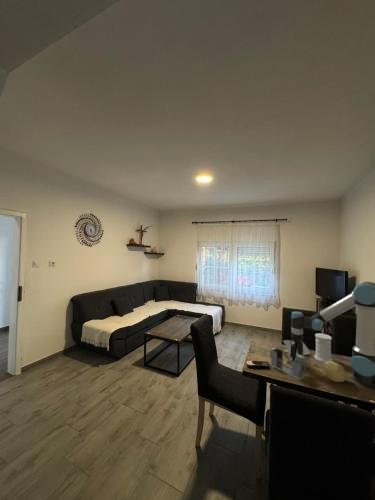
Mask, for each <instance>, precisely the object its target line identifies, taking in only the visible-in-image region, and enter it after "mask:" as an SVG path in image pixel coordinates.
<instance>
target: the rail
mask: <svg viewBox="0 0 375 500" xmlns="http://www.w3.org/2000/svg"><path fill="white" fill-rule="evenodd" d="M290 353H291V351H289V350H288V349H285V350H283V358H285V359H287V360H289V359H290V360H292V357H290ZM299 357H301V358H303V359H305V360H307V368H308V367H310V366H311V358H309V357H306V356H305V355H303V356H302V355H300V354H297V353H296V361H298V362H299Z"/></svg>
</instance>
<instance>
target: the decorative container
mask: <svg viewBox="0 0 375 500" xmlns="http://www.w3.org/2000/svg"><path fill="white" fill-rule="evenodd" d="M314 337H315V354H314V358H315V360H316V361H318V362H320V363H325V362H326V361H333V358H332V355H331V353H332V350H331V349H332V339H333V338H332V336H330V335H328V334H325V333H321V332H320V333H319V332H318V333H315V334H314Z"/></svg>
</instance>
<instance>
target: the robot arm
mask: <svg viewBox="0 0 375 500" xmlns="http://www.w3.org/2000/svg"><path fill="white" fill-rule="evenodd" d="M354 307H356V327H355V328H356V331H355V333H356V335H355V345H354V346H353V347H352V350H351V351H352V353H351V354H352V355H351V359H350V366H351V367H352V369H353V372H352V379H353V380H354V381H355V382H356V383H358V384H360V385H363V386H364V387H367V388H370V389H375V282H371V281H364V282H360V283H359V284H357V285H356V286H355V287H354V288H353V290H351V293H349V294H347V295H345V296H344V297H343V298H341V299H339V300H338V301H336V302H334V303H332V304H330V305H329V306H327V307H326V308H324V309H321V310H320V311H318V312H317V313H315V314H313V315H312V316H311V317H310V316H306V315H305V316H304V314H303V312H301V311H291V317H290V318H291V321H290V322H291V323H290V324H291V325H290V326H291V327H290V329H291V333H290V334H291V335H290V337H291V340H293V343H291V353H290V357H292V364H291V365H292V366H291V367H293V360H295V361H296V353H297V351H298V354H300V355H303V354H302V353H303V343H304V337H303V336H304V328H305V329H306V328H307V329H310V330H313V331H320V332H321V331H322V329H323V326H324V324H325V323H327V322H329V321H331V320H332V319H334V318H336V317H337V316H340V315H341V314H343V313H345V312H347V311H349V310H351V309H353V308H354ZM295 346H296V347H295ZM303 356H304V355H303Z"/></svg>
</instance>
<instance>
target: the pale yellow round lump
mask: <svg viewBox="0 0 375 500" xmlns="http://www.w3.org/2000/svg"><path fill="white" fill-rule="evenodd" d="M322 363H323V364H322V366H323V370H324V373H325V377H326V378H327V379H329V380H330V381H332V382H335V383H342V382H345V381H346V380H347V372H346V371H347V370H346V369H345V367H343V366H342V365H341V364H339V363H338V362H335V361H333V360H332V361H326V362H325V363H324V362H322Z"/></svg>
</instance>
